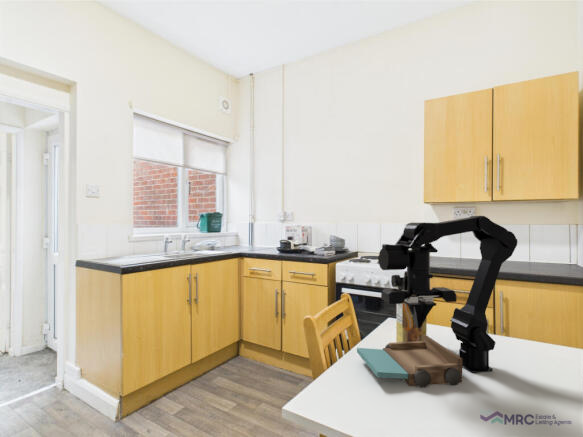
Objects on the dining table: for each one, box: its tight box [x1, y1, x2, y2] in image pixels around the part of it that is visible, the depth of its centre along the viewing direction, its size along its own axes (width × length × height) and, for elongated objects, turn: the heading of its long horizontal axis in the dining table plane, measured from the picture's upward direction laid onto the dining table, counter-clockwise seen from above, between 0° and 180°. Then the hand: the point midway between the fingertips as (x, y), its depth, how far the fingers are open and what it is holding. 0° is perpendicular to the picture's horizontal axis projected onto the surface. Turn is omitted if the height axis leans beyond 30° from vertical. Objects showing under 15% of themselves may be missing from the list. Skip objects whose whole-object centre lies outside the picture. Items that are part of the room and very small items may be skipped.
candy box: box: [395, 303, 428, 342], centre depth 105 cm, size 9×4×15 cm, turn 103°
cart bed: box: [382, 335, 463, 389], centre depth 87 cm, size 14×18×6 cm
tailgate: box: [356, 347, 408, 380], centre depth 85 cm, size 2×15×8 cm
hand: (418, 327), depth 85 cm, fingers closed
